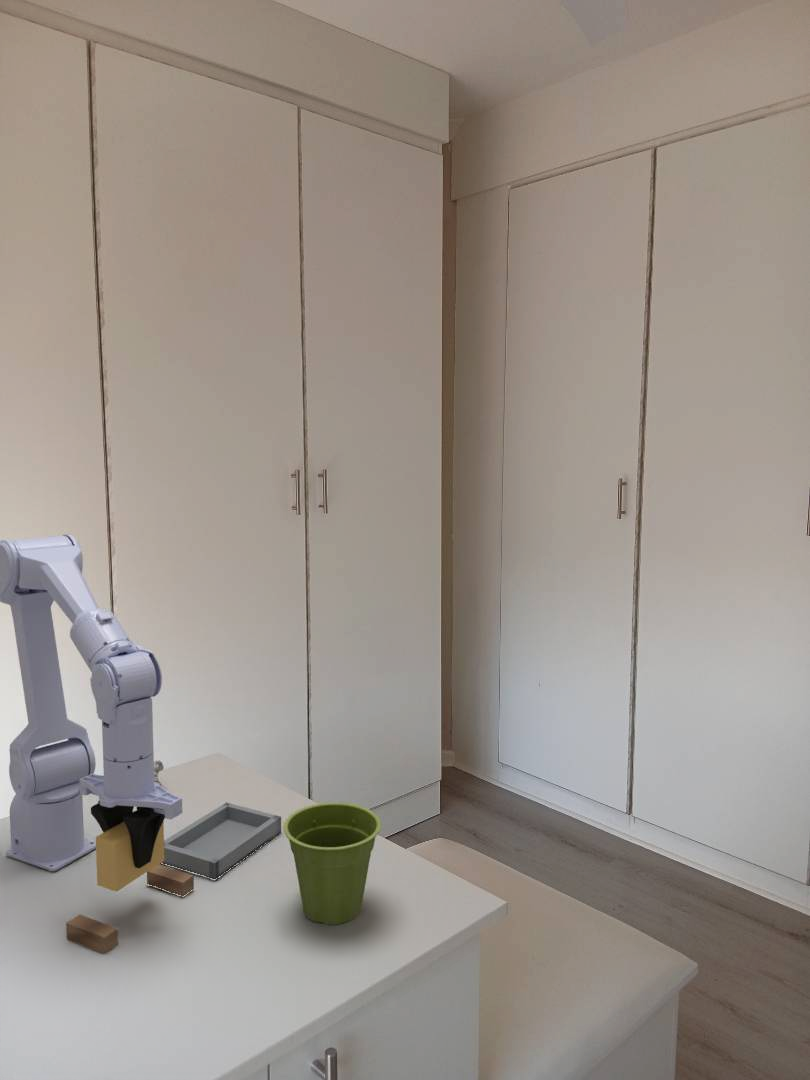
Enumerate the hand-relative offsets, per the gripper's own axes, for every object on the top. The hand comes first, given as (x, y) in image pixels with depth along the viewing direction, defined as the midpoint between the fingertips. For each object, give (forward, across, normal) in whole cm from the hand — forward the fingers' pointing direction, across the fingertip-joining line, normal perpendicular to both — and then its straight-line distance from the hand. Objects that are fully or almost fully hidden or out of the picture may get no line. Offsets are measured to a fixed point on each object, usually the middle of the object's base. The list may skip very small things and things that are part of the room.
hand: (131, 860), depth 102 cm
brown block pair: (+7, 0, 0) cm, 7 cm away
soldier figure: (+7, -22, +26) cm, 35 cm away
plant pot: (+7, +21, +12) cm, 25 cm away
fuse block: (+2, 0, 0) cm, 2 cm away
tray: (+7, -1, +18) cm, 19 cm away
